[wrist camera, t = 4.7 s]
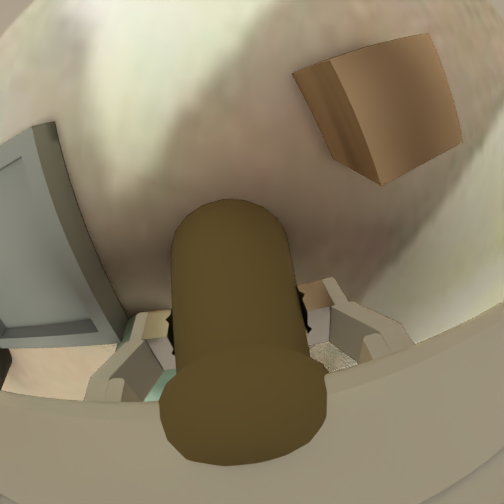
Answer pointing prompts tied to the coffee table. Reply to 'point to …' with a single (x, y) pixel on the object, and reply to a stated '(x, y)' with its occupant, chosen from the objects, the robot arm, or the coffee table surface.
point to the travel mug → (4, 364)
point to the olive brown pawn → (238, 342)
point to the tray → (48, 254)
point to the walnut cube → (383, 106)
